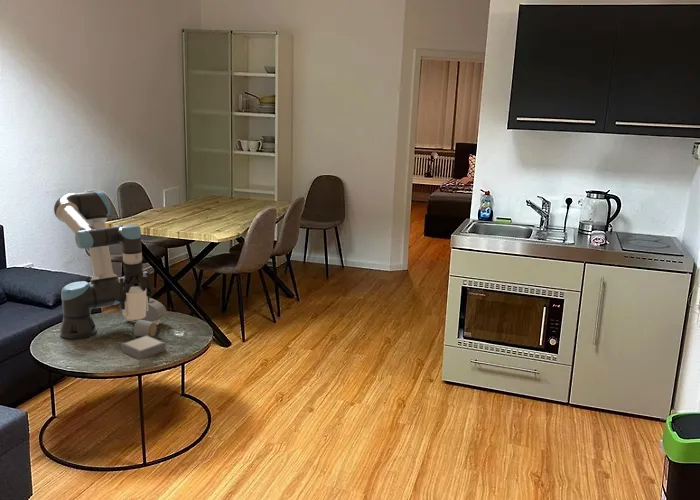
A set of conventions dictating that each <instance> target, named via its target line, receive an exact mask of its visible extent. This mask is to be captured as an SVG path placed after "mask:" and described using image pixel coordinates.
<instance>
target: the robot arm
mask: <svg viewBox="0 0 700 500" xmlns="http://www.w3.org/2000/svg"><path fill="white" fill-rule="evenodd" d="M53 206H54V207H53V212H54V213H53V214H54V215H55V217H56V218H57V219H58V220H59V221H60V222H62V223H64V224H65V225H66V226H67V227H68V228H69V229H70V230H71V231H72V232H73V234H74V235H75V236H74V237H75V239H74V241H75V244H76V246H77V248H79V249H82V250H84V249H88V251H89V256H90V262H91V268H92V274H93V276H92V277H91V278H90V283H89V282H88V281H85V280H82V281H79V280H78V281H74V282H70V283H67V284H66V285H65V286H63V287H62V289H61V291H60V292H61V296H60V298H61V306H62V307H61V308H62V317H63V318H62V323H61V326H60V328H59V333H60V337H62V338H64V339H68V340H69V339H71V340H73V339H74V340H77V339H85V338H87V337H90V336H93V335H94V334H96V332H97V326H96V324H95V321H94V319H93V317H92V312H91V311H92V310H94V309H100V308H105V307H112V306H116V305H119V307H120V308H121V309H122V312H121V315H122V317H125V318H126V317H128V312H127V302H126V301H125V300H126V293H128V292H129V290H130V287H133V285H135V284H138V285H137V286H140V288H141V290H142V291H145V288H146V289H147V291H146V311H149V310H148V303H149V298H150V297H151V295H152V294H153V293H154V289H153V285H152V282H151V279H150V272H149V271H145V270H144V271H143V269H144V267H143V262H142V261H143V250H142V232H141V226H140V225H138V224H133V223H132V224H131V223H130V224H124V225H123V224H115V225H113V226H110V227H106V221H107V220H108V216H110V214H111V211H112V210H111V204H110V200H109V198H108V196H107V194H106V193H105V192H103V191H98V190H97V191H96V190H95V191H93V190H92V191H83V192H70V193H65V194H63V195H61V196H60V197H59V198H58V199H57V200H56V201H55V203H54V205H53ZM115 245H116V246H117V245H121V249H122V261H123V265H122V267H123V276H122V277H120V276H118V275H117V274H115V273H114V270H113V264H112V259H111V254H110V246H115ZM142 278H143V279H142ZM120 308H119V309H120Z"/></svg>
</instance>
